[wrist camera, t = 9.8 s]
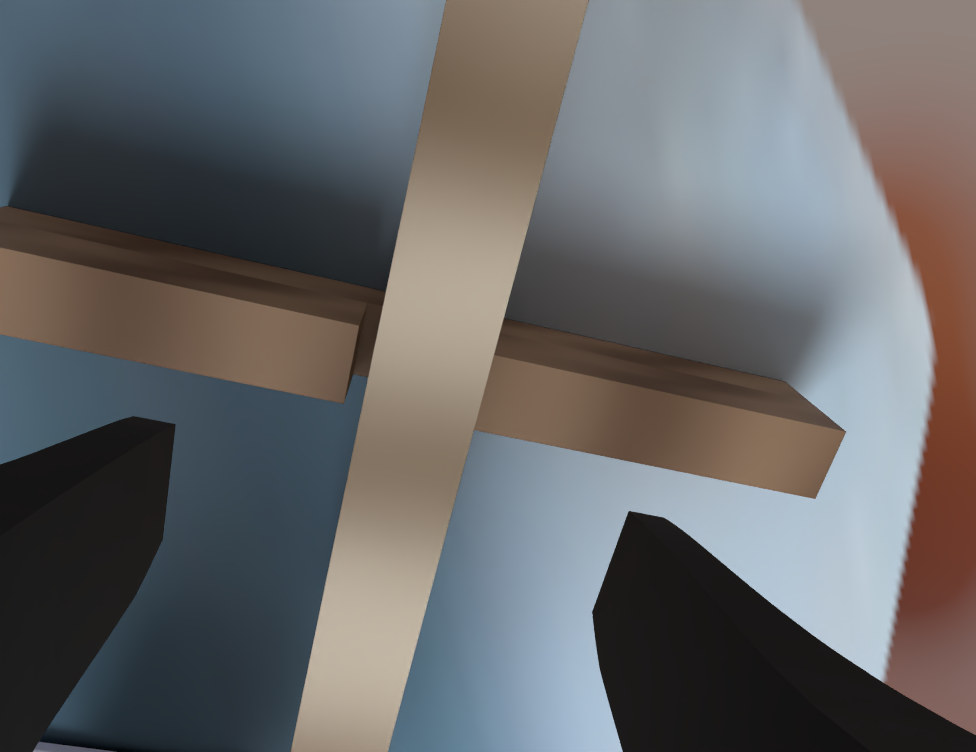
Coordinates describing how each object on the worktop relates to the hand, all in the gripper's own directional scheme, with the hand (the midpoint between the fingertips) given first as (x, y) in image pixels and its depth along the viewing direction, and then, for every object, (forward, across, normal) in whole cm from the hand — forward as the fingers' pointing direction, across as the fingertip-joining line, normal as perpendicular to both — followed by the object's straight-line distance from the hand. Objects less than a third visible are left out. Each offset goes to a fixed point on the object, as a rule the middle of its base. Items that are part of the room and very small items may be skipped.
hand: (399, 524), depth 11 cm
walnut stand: (+10, 0, 0) cm, 10 cm away
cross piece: (+10, 0, 0) cm, 10 cm away
